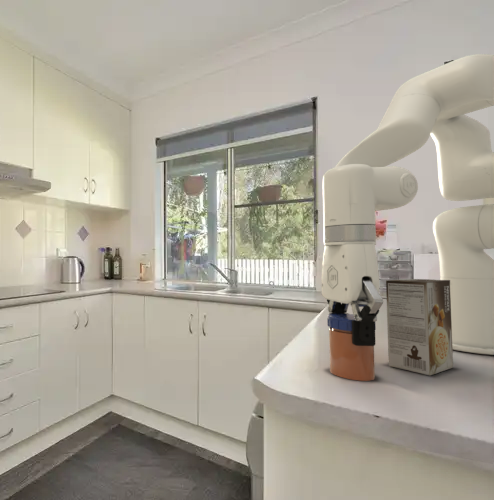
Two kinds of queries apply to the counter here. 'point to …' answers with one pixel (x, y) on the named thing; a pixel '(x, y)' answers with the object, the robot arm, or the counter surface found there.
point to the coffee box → (419, 325)
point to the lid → (341, 321)
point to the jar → (350, 357)
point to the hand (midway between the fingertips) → (350, 339)
